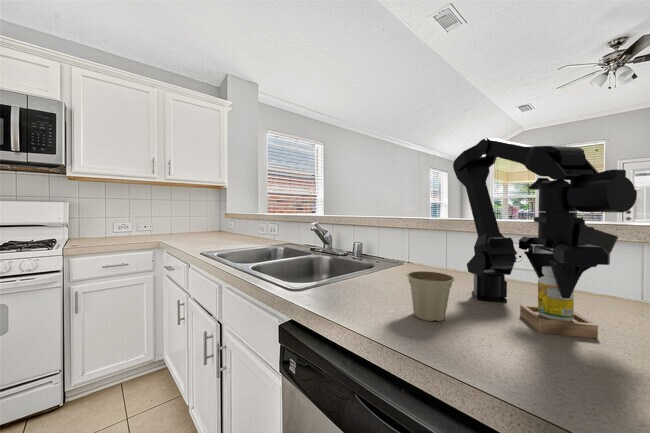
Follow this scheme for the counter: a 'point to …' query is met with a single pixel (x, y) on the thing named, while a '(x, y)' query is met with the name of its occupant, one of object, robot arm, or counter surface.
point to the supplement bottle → (553, 299)
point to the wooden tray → (559, 324)
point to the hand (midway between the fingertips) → (555, 292)
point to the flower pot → (430, 294)
